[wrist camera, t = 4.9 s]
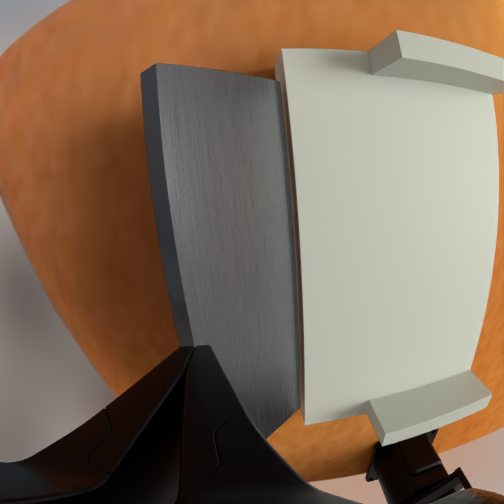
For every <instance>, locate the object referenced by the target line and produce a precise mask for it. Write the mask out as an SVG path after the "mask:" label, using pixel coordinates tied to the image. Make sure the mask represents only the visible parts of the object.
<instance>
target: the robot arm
mask: <svg viewBox="0 0 504 504" xmlns="http://www.w3.org/2000/svg"><path fill="white" fill-rule="evenodd" d="M437 431H438V428H437V429H434V430H432V431H429V432H426V433H423V434H420V435H417V436H414V437H411V438H408V439H405V440H402V441H399V442H396V443H392V444H389V445H385V446H382V445H381V443H378V444H376V445H375V447H374V450H373V454H372V457H371V461H370V464H369V468H368V471H367V474H366V477H365V478H366V481H367V482H370V481H374V480H378V479H379V482H380V485H381V487H382V490H383V492H384V495H385V498H386V500H387V503H388V504H504V496H503V495H500V494H497V493H495V492H490V491H486V490H481V489H476V488H472V487H471V485H470V483H469V482H468V480H467V478H466V476H465V475H464V473H463V472H462V470H461V468H460V467H459V468H457V469H456V470H455V471H454V472H453V473H452V474H450V475H448V473H447V471H446V470H445V468H444V466H443V464H442V463H441V459H440V458H439V456H438V454H437V452H436V451H435V449H434V447H433V446H432V443H433V441H434V439H435V436H436V434H437ZM462 488H464V490H461V489H462ZM459 490H461V491H459ZM0 504H362V503H359V502H355V501H352V500H348V499H345V498H342V497H339V496H335V495H332V494H329V493H326V492H323V491H321V490H319V489H317V488H315V487H313V486H312V485H310V484H309V483H308V482H307V481H305V480H304V479H303V478H302V477H301V476H300V475H299V474H298V473H297V472H296V471H295V470H294V469H293V468H292V467H291V466H290V465H289V464H288V463H287V462H286V461H285V460H284V459H283V458H282V457H281V455H280V454H279V453H278V452H277V451H276V450H275V449H274V448H273V447H272V446H271V445H270V444H269V442H268V441H267V440H266V439H265V438H264V436H263V435H262V434H261V433H260V431H259V430H258V429H257V427H256V426H255V424H254V423H253V421H252V420H251V418H250V417H249V415H248V413H247V411H246V410H245V409H244V406H243V405H242V403H241V401H240V399H239V398H238V396H237V394H236V392H235V390H234V389H233V387H232V385H231V383H230V381H229V380H228V378H227V376H226V374H225V372H224V370H223V368H222V367H221V365H220V363H219V361H218V359H217V357H216V355H215V353H214V351H213V349H212V348H211V346H210V345H197V346H196V347H194V346H181V347H179V348H178V349H177V350H176V351H174V352H173V353H172V354H171V355H170V356H168V357H167V358H166V359H165V360H163V361H162V362H161V363H160V364H159V365H157V366H156V367H155V368H154V369H152V370H151V371H150V372H149V373H148V374H146V375H145V376H144V377H143V378H141V379H140V380H139V381H138V382H136V383H135V384H134V385H133V386H131V387H130V388H129V389H128V390H126V391H125V392H124V393H123V394H121V395H120V396H119V397H118V398H116V399H115V400H114V401H113V402H111V403H110V404H109V405H108V406H106V409H102V410H101V411H100V412H99V413H97V414H96V415H95V416H93V417H92V418H91V419H90V420H88V421H87V422H85V423H84V424H83V425H81V426H80V427H78V428H77V429H75V430H74V431H72V432H71V433H69V434H68V435H66V436H64V437H63V438H61V439H59V440H58V441H56V442H55V443H53V444H51V445H50V446H48V447H46V448H45V449H43V450H41V451H40V452H38V453H36V454H35V455H33V456H31V457H29V458H27V459H24V460H22V461H18V462H9V463H4V462H0Z"/></svg>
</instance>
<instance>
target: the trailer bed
mask: <svg viewBox="0 0 504 504" xmlns="http://www.w3.org/2000/svg"><path fill="white" fill-rule="evenodd" d="M274 69H275V77H276V80H277V81H280V86H281V94H282V103H283V113H284V122H285V132H286V142H287V153H288V164H289V175H290V187H291V199H292V213H293V227H294V242H295V258H296V276H297V296H298V319H299V348H300V393H301V411H302V416H303V420H304V424H305V425H309V424H315V423H321V422H327V421H332V420H337V419H342V418H347V417H352V416H357V415H361V414H365V413H367V415H368V417H369V419H370V421H371V423H372V426H373V428H374V430H375V432H376V434H377V437H378V439H379V441H380V443H381V445H382V446H385V445H389V444H392V443H396V442H399V441H402V440H405V439H408V438H411V437H414V436H417V435H420V434H423V433H426V432H429V431H432V430H434V429H437V428H440V427H442V426H445V425H447V424H450V423H452V422H455V421H457V420H459V419H462V418H464V417H466V416H469V415H471V414H473V413H475V412H477V411H480V410H482V409H484V408H486V407H487V405H488V403H489V401H490V398H491V396H492V393H491V392H490V391H489V390H488V388H487V387H486V386H485V385H484V384H483V383H482V382H481V381H480V380H479V379H478V378H477V377H476V375H475V374H474V373H473V372H472V371H471V370H470V368H471V365H472V361H473V358H474V355H475V351H476V348H477V344H478V340H479V336H480V332H481V328H482V324H483V320H484V315H485V311H486V306H487V301H488V295H489V290H490V284H491V278H492V271H493V264H494V256H495V247H496V237H497V224H498V206H499V160H498V141H497V129H496V119H495V110H494V103H493V96H492V95H493V94H499V93H504V59H502V58H500V57H497V56H494V55H491V54H488V53H486V52H483V51H480V50H477V49H473V48H470V47H467V46H464V45H460V44H457V43H453V42H449V41H446V40H442V39H438V38H433V37H429V36H425V35H420V34H415V33H410V32H405V31H399V30H396V31H394V32H393V33H392V34H390V35H389V36H388V37H386V38H385V39H384V40H382V41H381V42H380V43H379V44H377V45H376V46H375V47H373V48H372V49H371V50H369V51H368V52H367V51H355V50H339V49H281V52H280V54H279V57H278V60H277V62H276V65H275V68H274Z"/></svg>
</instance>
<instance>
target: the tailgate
mask: <svg viewBox="0 0 504 504" xmlns="http://www.w3.org/2000/svg"><path fill="white" fill-rule="evenodd" d="M141 92H142V106H143V119H144V131H145V141H146V151H147V160H148V169H149V177H150V185H151V193H152V200H153V207H154V214H155V220H156V227H157V233H158V239H159V245H160V251H161V256H162V262H163V267H164V273H165V278H166V283H167V288H168V293H169V298H170V303H171V307H172V312H173V316H174V321H175V325H176V330H177V334H178V338H179V343H180V347H181V346H194V347H196V346H197V345H210V346H211V348H212V349H213V351H214V353H215V355H216V357H217V359H218V361H219V363H220V365H221V367H222V368H223V370H224V372H225V374H226V376H227V378H228V380H229V381H230V383H231V385H232V387H233V389H234V390H235V392H236V394H237V396H238V398H239V399H240V401H241V403H242V405H243V406H244V409H245V410H246V411H247V413H248V415H249V417H250V418H251V420H252V421H253V423H254V424H255V426H256V427H257V429H258V430H259V431H260V433H261V434H262V435H263V436H264V438H265V439H266V438H268V437H269V436H270V435H271V434H272V433H273V432H274V431H275V430H277V429H278V428H279V427H280V426H281V425H282V424H283V423H284V422H285V421H286V420H287V419H289V418H290V417H291V416H292V415H293V414H294V413H295V412H296V411H297V410H298V409H299V408H300V407H301V393H300V348H299V319H298V296H297V276H296V258H295V242H294V227H293V213H292V199H291V187H290V175H289V164H288V153H287V142H286V132H285V122H284V113H283V103H282V94H281V86H280V81H277V80H272V79H267V78H263V77H258V76H252V75H247V74H241V73H236V72H230V71H223V70H216V69H209V68H202V67H193V66H184V65H173V64H161V63H156V64H154V65H152V66H151V67H150V68H148V69H147V70H145V71H144V72H142V73H141Z"/></svg>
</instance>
